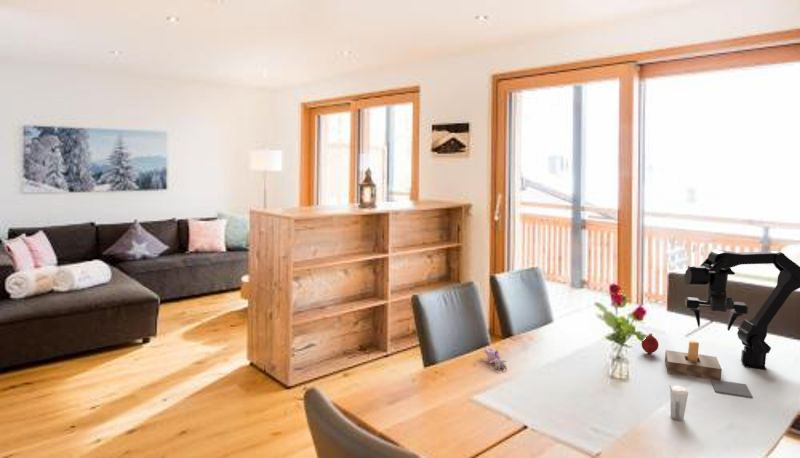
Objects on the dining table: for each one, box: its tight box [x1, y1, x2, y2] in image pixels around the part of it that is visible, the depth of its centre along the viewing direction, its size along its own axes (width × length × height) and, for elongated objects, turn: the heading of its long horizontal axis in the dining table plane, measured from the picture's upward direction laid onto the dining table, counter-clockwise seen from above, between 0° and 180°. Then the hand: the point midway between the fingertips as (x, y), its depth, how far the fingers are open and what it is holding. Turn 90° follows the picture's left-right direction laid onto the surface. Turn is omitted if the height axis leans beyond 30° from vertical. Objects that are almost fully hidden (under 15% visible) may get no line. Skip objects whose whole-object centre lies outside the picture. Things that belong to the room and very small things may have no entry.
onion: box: [640, 332, 660, 355], centre depth 200 cm, size 6×6×8 cm
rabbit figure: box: [483, 347, 508, 371], centre depth 190 cm, size 6×6×15 cm
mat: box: [710, 379, 753, 399], centre depth 171 cm, size 10×10×1 cm
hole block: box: [664, 349, 723, 381], centre depth 186 cm, size 16×12×4 cm
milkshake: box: [669, 384, 689, 421], centre depth 151 cm, size 4×5×10 cm
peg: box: [687, 340, 700, 362], centre depth 185 cm, size 3×3×10 cm
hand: (713, 328), depth 190 cm, fingers open, 9 cm apart
